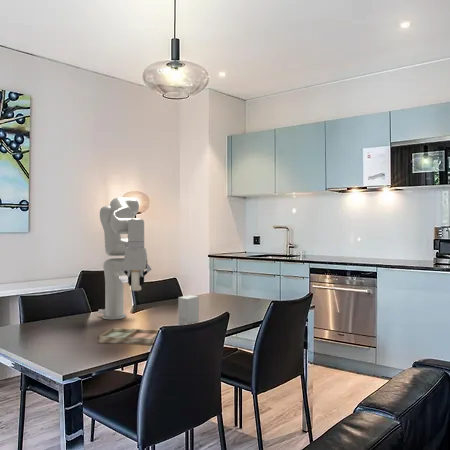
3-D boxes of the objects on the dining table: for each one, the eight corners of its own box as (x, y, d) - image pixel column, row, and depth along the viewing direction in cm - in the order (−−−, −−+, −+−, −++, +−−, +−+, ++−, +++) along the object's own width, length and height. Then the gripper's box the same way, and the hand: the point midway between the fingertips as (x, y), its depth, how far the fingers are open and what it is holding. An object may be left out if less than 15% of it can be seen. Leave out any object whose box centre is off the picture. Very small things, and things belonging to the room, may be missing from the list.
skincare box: (189, 326, 227) (189, 294, 226) (199, 328, 222) (199, 296, 222) (177, 329, 220) (177, 296, 220) (187, 331, 216) (187, 298, 216)
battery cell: (129, 290, 209) (129, 266, 209) (132, 289, 213) (132, 265, 213) (139, 290, 208) (139, 266, 208) (142, 289, 213) (142, 266, 213)
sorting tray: (97, 342, 196) (97, 336, 196) (111, 333, 212) (111, 328, 212) (152, 344, 193) (152, 338, 193) (162, 335, 209) (162, 329, 209)
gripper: (115, 245, 208) (115, 286, 208) (151, 245, 206) (151, 286, 206) (120, 244, 215) (120, 284, 215) (156, 245, 213) (156, 284, 213)
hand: (136, 284), depth 211 cm, fingers closed on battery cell, 4 cm apart
